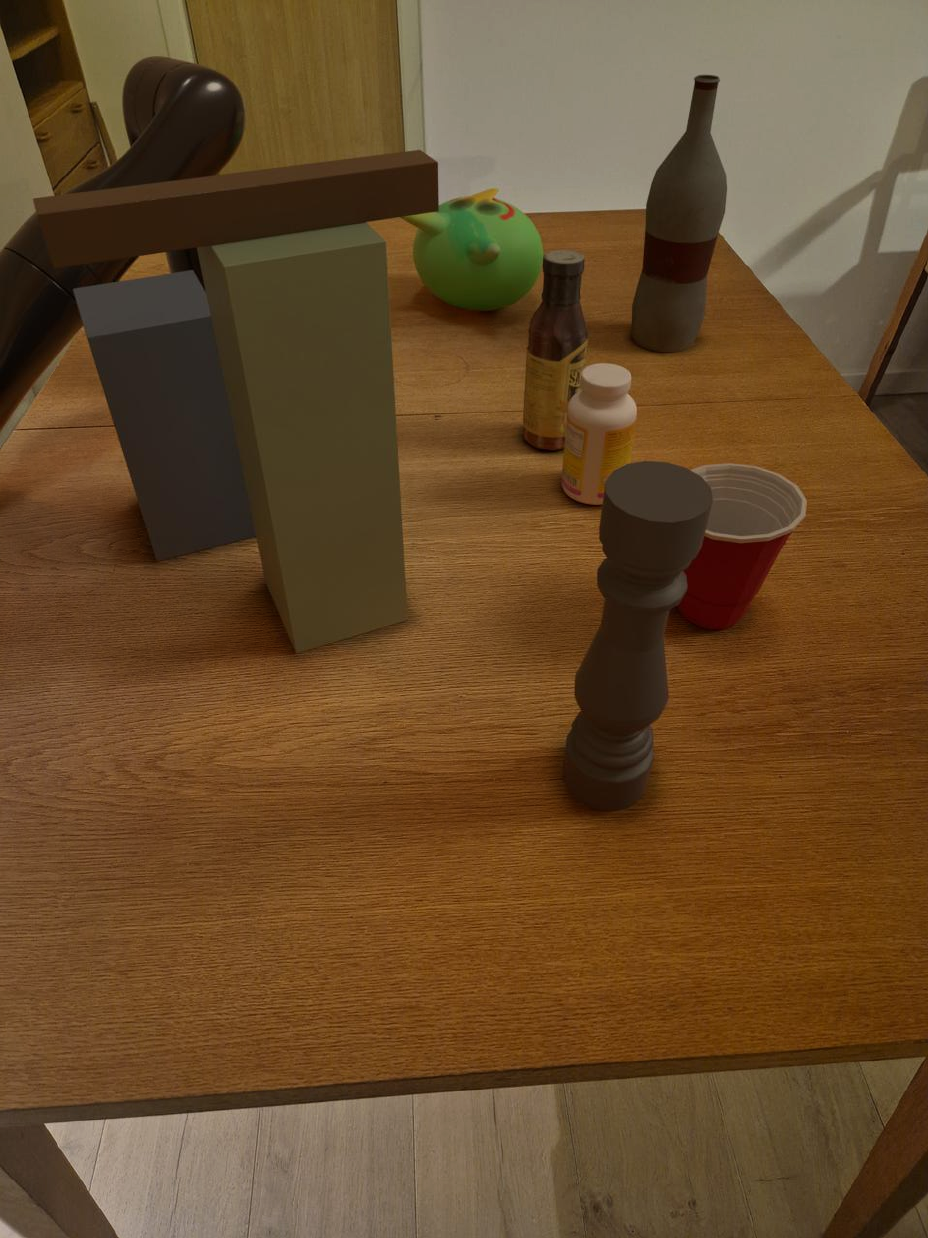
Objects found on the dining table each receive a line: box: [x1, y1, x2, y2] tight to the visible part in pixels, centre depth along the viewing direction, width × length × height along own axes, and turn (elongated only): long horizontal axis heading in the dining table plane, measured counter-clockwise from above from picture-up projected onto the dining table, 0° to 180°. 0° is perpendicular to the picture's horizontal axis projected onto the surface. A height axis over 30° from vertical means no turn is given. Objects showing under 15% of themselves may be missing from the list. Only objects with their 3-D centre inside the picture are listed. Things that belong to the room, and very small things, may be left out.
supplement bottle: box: [561, 362, 638, 506], centre depth 85 cm, size 7×7×13 cm
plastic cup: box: [677, 462, 808, 630], centre depth 72 cm, size 11×11×12 cm
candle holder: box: [561, 460, 713, 812], centre depth 54 cm, size 6×6×25 cm
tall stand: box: [197, 222, 409, 654], centre depth 66 cm, size 10×10×32 cm
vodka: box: [631, 74, 728, 354], centre depth 104 cm, size 9×9×30 cm
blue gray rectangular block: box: [73, 270, 256, 562], centre depth 78 cm, size 10×10×22 cm
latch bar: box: [32, 149, 440, 269], centre depth 53 cm, size 24×3×3 cm, turn 114°
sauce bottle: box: [522, 248, 589, 451], centre depth 90 cm, size 6×6×20 cm
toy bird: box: [399, 187, 544, 312], centre depth 117 cm, size 18×17×15 cm
